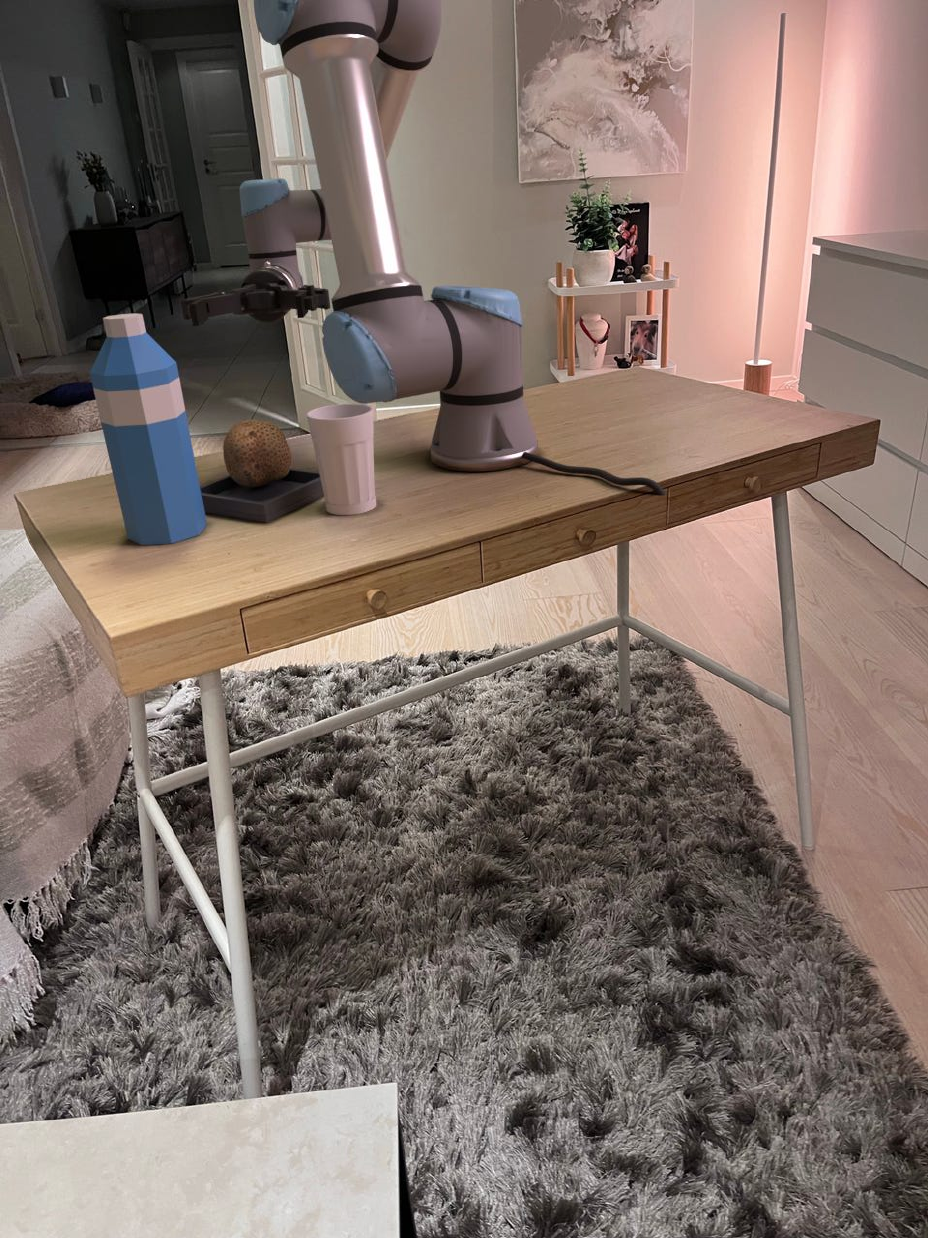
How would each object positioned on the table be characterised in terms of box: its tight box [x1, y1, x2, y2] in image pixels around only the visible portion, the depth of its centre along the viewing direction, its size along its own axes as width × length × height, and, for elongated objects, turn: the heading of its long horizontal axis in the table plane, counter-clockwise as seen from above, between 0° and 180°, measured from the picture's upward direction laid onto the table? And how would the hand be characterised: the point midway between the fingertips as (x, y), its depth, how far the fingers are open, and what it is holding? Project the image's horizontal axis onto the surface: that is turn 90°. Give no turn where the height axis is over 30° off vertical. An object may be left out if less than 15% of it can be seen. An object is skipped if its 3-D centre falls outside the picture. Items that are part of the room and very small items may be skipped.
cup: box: [306, 403, 377, 516], centre depth 115 cm, size 8×8×12 cm
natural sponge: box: [222, 419, 292, 488], centre depth 123 cm, size 9×9×10 cm
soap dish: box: [200, 467, 324, 524], centre depth 122 cm, size 14×14×2 cm
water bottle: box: [89, 312, 208, 546], centre depth 108 cm, size 9×9×25 cm
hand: (246, 311), depth 121 cm, fingers open, 13 cm apart
